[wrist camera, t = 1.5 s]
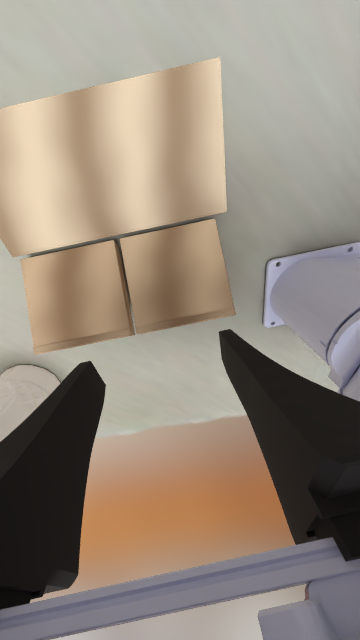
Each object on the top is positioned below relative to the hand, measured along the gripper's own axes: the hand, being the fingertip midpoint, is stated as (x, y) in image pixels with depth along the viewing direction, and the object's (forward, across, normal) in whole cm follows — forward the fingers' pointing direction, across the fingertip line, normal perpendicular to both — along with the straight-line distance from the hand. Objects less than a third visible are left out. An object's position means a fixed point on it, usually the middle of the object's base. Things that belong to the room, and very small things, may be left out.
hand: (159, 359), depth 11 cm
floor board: (+11, +2, -10) cm, 14 cm away
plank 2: (+8, -2, -1) cm, 8 cm away
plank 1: (+8, +6, -2) cm, 10 cm away
